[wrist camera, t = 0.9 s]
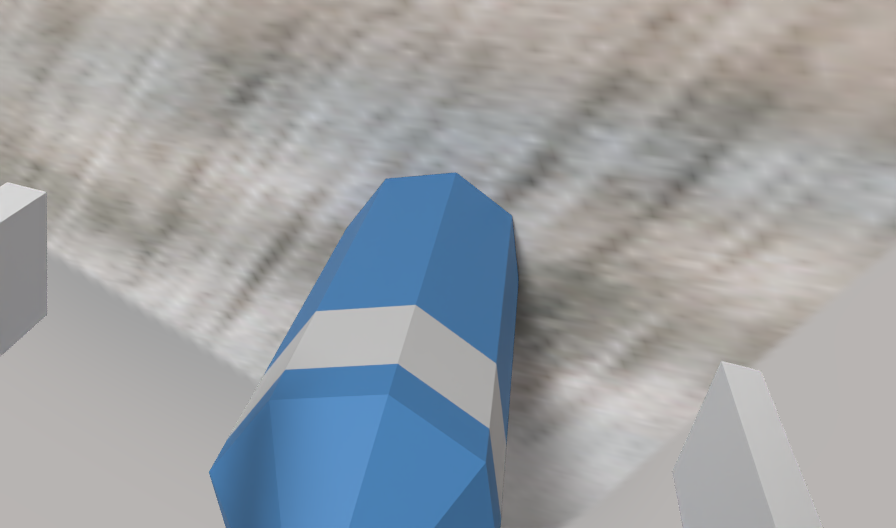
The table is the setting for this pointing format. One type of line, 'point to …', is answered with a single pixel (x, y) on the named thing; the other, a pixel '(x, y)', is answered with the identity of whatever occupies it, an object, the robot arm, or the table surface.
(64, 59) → the table surface
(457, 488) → the water bottle
